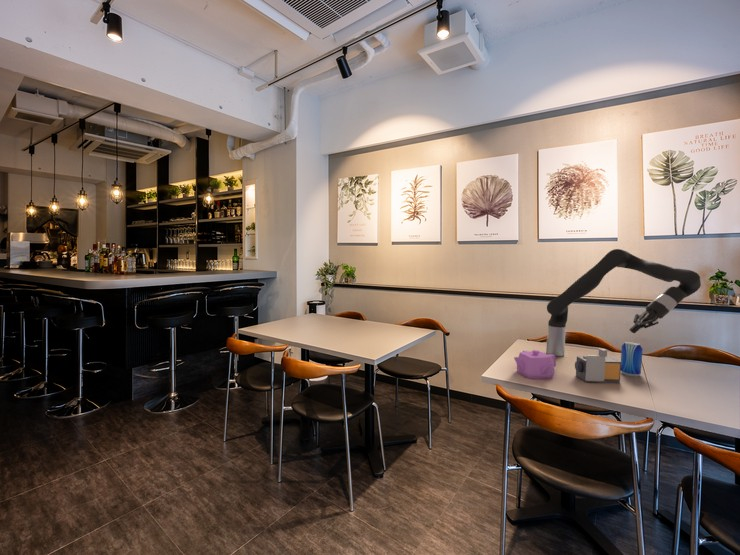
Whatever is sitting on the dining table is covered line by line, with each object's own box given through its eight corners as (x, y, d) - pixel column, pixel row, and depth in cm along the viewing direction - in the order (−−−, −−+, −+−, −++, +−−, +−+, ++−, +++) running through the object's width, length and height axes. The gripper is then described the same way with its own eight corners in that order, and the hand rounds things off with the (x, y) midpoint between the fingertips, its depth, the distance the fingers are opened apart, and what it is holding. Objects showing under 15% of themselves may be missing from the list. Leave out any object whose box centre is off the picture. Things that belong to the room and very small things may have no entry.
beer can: (621, 370, 184) (623, 340, 183) (642, 374, 178) (644, 343, 177) (618, 374, 178) (620, 342, 177) (639, 378, 172) (641, 346, 171)
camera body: (581, 381, 166) (582, 359, 165) (572, 375, 174) (573, 354, 174) (620, 383, 165) (621, 360, 164) (609, 377, 173) (610, 355, 172)
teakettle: (555, 373, 178) (556, 349, 177) (551, 383, 164) (552, 357, 163) (520, 367, 188) (520, 344, 187) (512, 376, 173) (513, 351, 173)
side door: (587, 381, 164) (589, 349, 163) (584, 379, 167) (585, 348, 166) (605, 382, 163) (607, 350, 162) (601, 379, 166) (603, 348, 165)
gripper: (645, 298, 169) (617, 323, 170) (666, 302, 155) (635, 328, 157) (656, 309, 168) (627, 334, 170) (678, 314, 155) (647, 340, 157)
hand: (631, 331), depth 164 cm, fingers closed
